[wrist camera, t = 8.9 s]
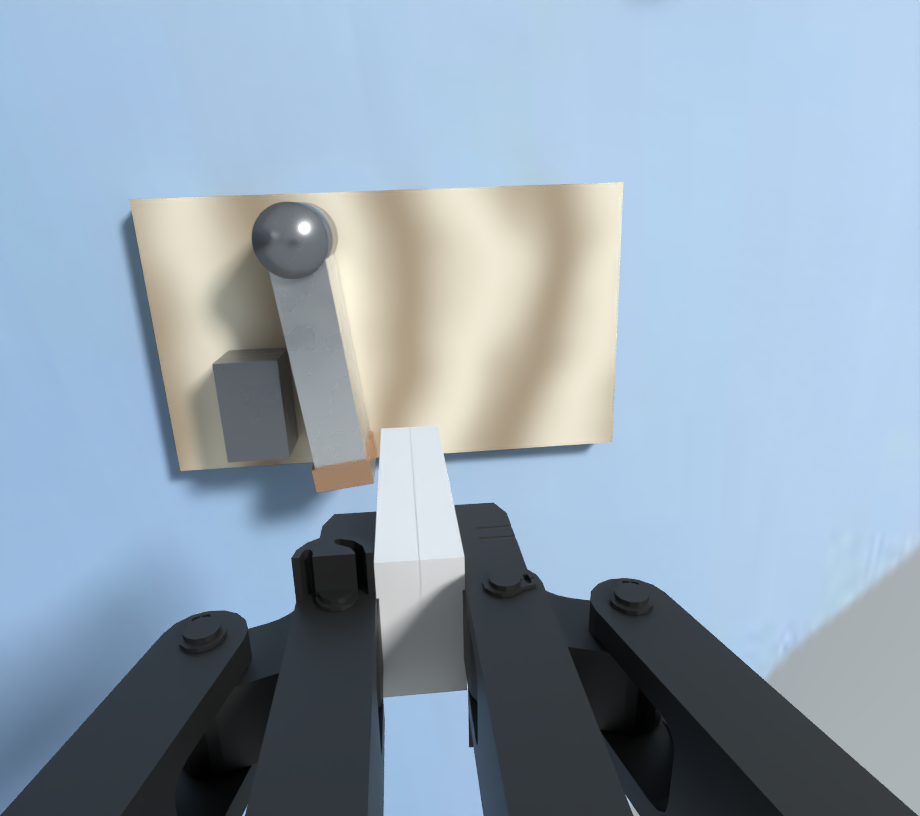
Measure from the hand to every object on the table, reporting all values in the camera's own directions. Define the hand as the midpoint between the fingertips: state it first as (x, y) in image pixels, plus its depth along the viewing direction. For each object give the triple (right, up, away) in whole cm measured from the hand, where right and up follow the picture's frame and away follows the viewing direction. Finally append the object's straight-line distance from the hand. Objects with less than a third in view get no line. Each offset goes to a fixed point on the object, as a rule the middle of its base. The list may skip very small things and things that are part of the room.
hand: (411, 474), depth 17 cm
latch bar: (-6, +5, +16) cm, 18 cm away
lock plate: (-2, +6, +17) cm, 19 cm away
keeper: (-9, +2, +16) cm, 19 cm away
